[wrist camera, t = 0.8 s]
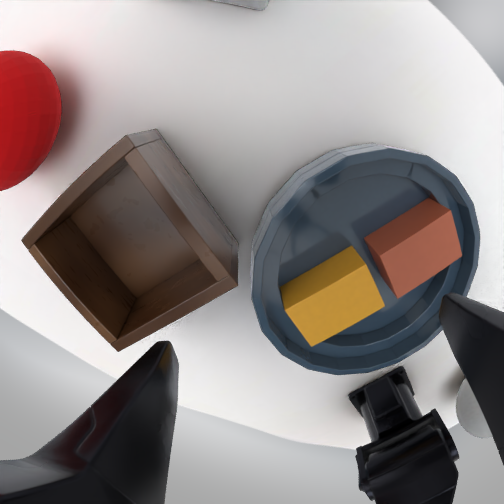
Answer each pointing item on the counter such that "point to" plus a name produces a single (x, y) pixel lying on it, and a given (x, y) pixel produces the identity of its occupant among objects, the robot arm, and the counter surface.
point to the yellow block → (331, 296)
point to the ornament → (26, 115)
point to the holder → (135, 242)
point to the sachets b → (415, 246)
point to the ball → (471, 412)
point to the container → (248, 3)
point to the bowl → (352, 234)
